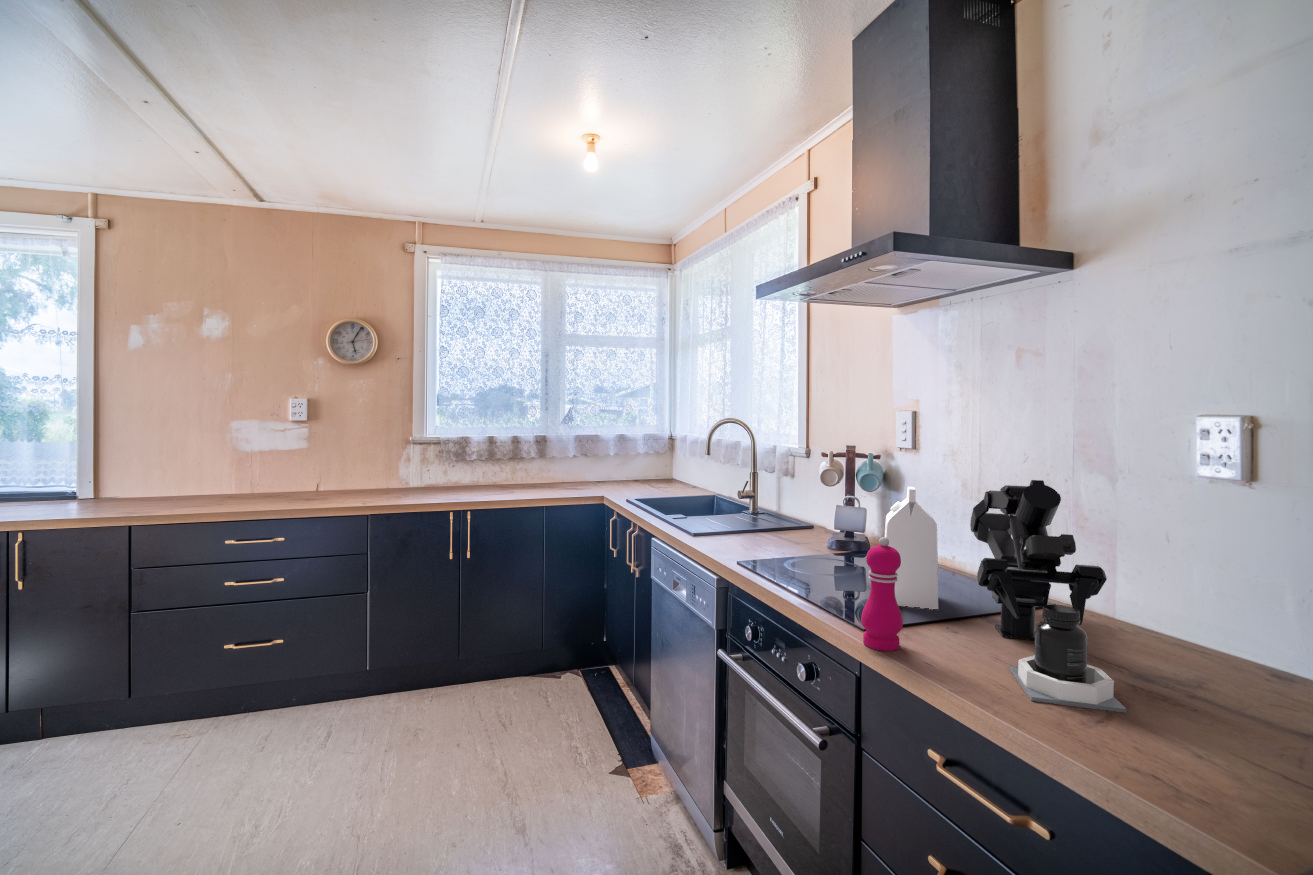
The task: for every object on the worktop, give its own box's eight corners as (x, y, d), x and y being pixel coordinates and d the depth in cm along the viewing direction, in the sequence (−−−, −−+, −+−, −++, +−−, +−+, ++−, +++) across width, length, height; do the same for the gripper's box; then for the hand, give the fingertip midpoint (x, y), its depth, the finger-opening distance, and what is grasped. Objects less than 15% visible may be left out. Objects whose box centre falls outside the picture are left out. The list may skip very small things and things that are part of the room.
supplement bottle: (1081, 680, 97) (1084, 605, 97) (1090, 698, 91) (1093, 618, 91) (1030, 672, 100) (1033, 599, 100) (1036, 688, 94) (1039, 611, 94)
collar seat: (1009, 669, 103) (1010, 651, 103) (1093, 679, 99) (1093, 660, 99) (1031, 700, 91) (1032, 680, 91) (1126, 712, 88) (1127, 691, 88)
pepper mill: (852, 640, 115) (855, 534, 115) (883, 636, 118) (886, 532, 117) (878, 654, 109) (881, 541, 108) (910, 649, 111) (914, 539, 111)
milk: (938, 609, 135) (941, 492, 134) (882, 604, 139) (885, 489, 138) (932, 595, 147) (936, 486, 146) (881, 590, 150) (884, 484, 149)
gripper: (983, 513, 110) (995, 590, 100) (1104, 519, 105) (1131, 602, 95) (972, 547, 118) (983, 623, 108) (1084, 555, 113) (1107, 635, 102)
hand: (1048, 620), depth 103 cm, fingers open, 9 cm apart
